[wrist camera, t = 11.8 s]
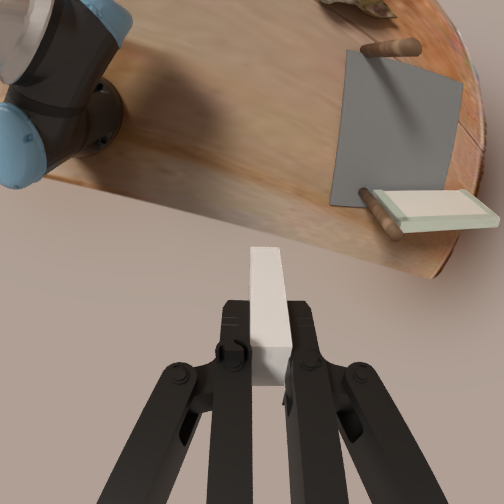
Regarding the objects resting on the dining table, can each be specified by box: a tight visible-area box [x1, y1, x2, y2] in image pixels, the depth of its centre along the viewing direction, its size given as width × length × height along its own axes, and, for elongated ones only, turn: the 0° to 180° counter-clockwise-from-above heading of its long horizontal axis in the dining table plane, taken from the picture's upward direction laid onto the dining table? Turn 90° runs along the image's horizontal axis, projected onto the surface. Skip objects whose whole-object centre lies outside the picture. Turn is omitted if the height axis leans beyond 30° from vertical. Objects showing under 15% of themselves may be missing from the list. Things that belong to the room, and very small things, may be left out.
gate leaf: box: [373, 189, 500, 233], centre depth 45 cm, size 22×2×12 cm, turn 95°
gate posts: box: [358, 38, 422, 242], centre depth 39 cm, size 2×28×16 cm, turn 3°
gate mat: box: [329, 50, 463, 208], centre depth 46 cm, size 24×28×1 cm
